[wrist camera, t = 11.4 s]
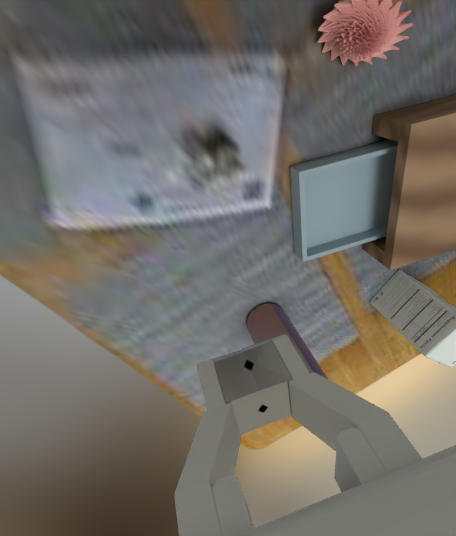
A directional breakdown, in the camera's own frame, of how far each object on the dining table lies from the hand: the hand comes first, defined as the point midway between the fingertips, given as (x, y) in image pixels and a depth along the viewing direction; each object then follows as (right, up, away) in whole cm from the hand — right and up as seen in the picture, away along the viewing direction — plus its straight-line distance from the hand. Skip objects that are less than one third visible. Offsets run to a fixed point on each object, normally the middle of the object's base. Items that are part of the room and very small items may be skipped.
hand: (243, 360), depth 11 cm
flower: (+11, +26, +22) cm, 36 cm away
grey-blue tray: (+17, +13, +32) cm, 38 cm away
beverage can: (+5, -4, +39) cm, 40 cm away
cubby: (+23, +15, +33) cm, 43 cm away
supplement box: (+27, -1, +44) cm, 52 cm away
